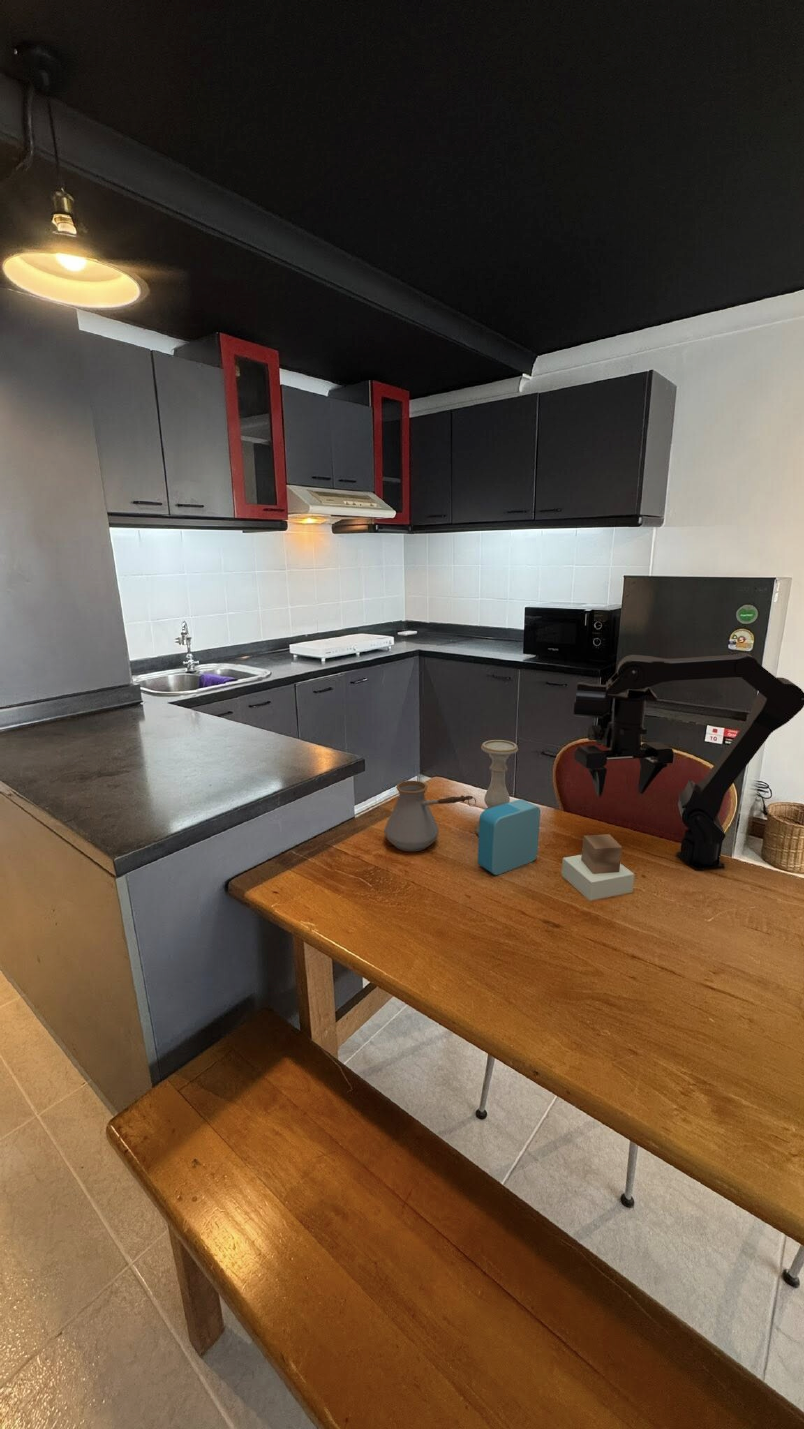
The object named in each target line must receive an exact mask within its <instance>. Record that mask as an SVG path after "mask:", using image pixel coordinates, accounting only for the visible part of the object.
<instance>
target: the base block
mask: <svg viewBox="0 0 804 1429" xmlns="http://www.w3.org/2000/svg"><path fill="white" fill-rule="evenodd" d="M581 857H582V854H578V855H572V856H566V857H562V864H561V877H563V878H564V879H565V880H566V881H567V882H569V883H570V885H572V886H573V887H574V888H575V889H576V890H577V891H578V892H579V893H581V895H583V896H584V897H585V898H586V899H587V900H588V901H590V902H591V901H596V900H600V899H606V898H611V897H617V896H620V895H625V894H629V893H633V891H634V890H633V889H634V882H635V881H634V880H635V873H634V872H632V871H631V870H629V869H628V868H627V867H626V866H624V865H623V864H621V863H620V870H619V872H614V873H599V874H593V873H592V872H591V871H590V870H589V869H588V867H587V866H586V865H585V864H584V863H583V861H582V860H581Z"/></svg>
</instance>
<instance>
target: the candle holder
mask: <svg viewBox="0 0 804 1429" xmlns="http://www.w3.org/2000/svg"><path fill="white" fill-rule="evenodd" d="M480 748H481V750H482V751H483V753H484V752H485V753H486V754H488V755H489V757H490V759H491V761H492V763H491V765H490V766H489V770H490V771H491V778H490V779H491V780H490V784H489V787H488V788H487V790H486V792H485V794H484V799H483V800H484V804H485V805H486V807H487V808H485V810H486V809H489V808H493V807H496V806H499V805H502V804H506V803H509V802H511V798H510V797H511V796H510V794H509V791H508V789H507V786H506V778H505V776H506V775H505V774H506V772H507V771H508V766H507V765H506V762H507V759H508V758H509V757H510V755H514V754H516V753H517V752H518V750H519V747H518V745H517V744H516V743H515V742H513V741H510V740H505V739H504V740H503V739H491V740H490V739H489V740H487V741H484V742H483V743H482V744H481V747H480ZM474 829H475V830H474V831H475V834H476V835H477V836H478V837H479V822H478V823H477V824H476V825H475V828H474Z"/></svg>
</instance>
